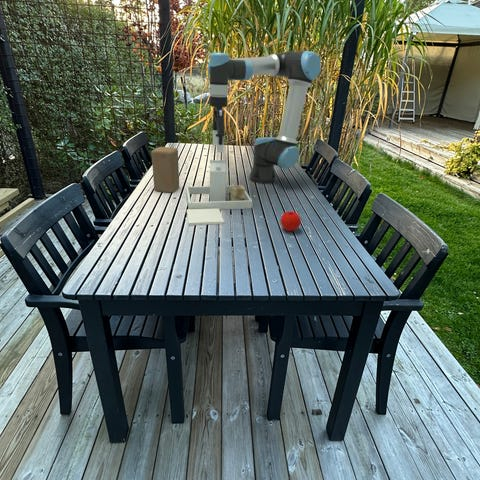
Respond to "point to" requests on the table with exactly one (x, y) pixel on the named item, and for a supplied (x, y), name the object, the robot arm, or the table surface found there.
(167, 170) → the wooden block
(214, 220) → the tile
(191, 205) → the rectangular frame
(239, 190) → the oak block
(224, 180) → the milk carton
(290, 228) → the apple
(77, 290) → the table surface
